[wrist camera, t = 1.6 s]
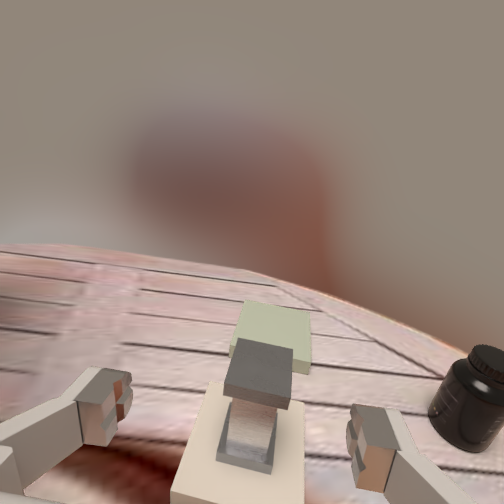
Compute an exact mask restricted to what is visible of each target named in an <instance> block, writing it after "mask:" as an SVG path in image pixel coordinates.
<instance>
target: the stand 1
mask: <svg viewBox="0 0 504 504" xmlns="http://www.w3.org/2000/svg"><path fill="white" fill-rule="evenodd" d="M238 337H239V338H243V339H248V340H253V341H257V342H262V343H267V344H272V345H276V346H281V347H286V348H290V349H293V365H292V371H293V372H297V373H302V374H306V375H308V372H309V368H310V365H311V335H310V312H305V311H300V310H295V309H290V308H285V307H280V306H275V305H270V304H265V303H260V302H255V301H250V300H245V302H244V305H243V308H242V311H241V314H240V317H239V320H238V323H237V326H236V329H235V332H234V335H233V338H232V341H231V344H230V350H229V358H232V356H233V352H234V349H235V346H236V343H237V339H238Z"/></svg>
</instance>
